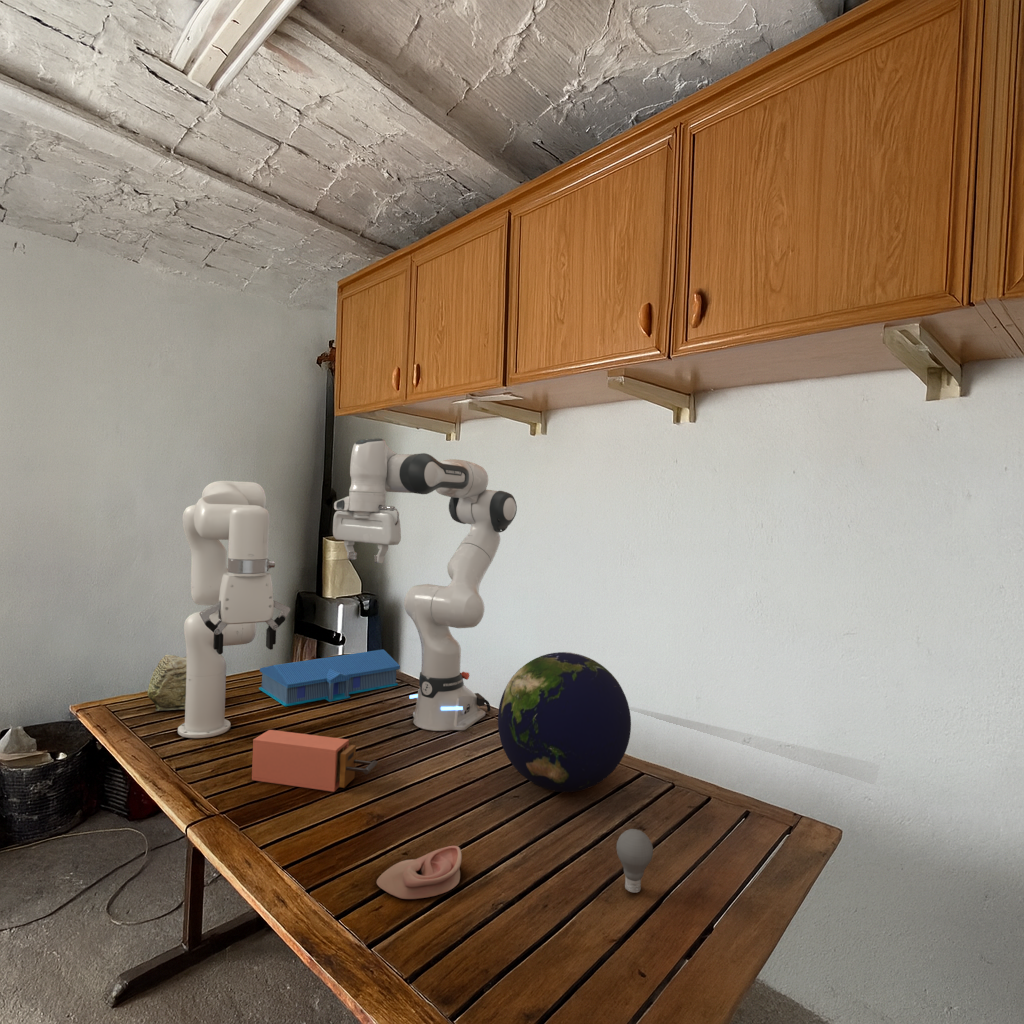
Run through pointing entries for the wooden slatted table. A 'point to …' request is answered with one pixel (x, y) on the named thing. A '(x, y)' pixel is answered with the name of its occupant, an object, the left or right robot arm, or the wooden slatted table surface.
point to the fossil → (169, 683)
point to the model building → (329, 677)
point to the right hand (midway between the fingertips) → (365, 561)
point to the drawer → (350, 766)
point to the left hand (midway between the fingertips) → (244, 650)
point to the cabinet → (297, 759)
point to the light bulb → (634, 857)
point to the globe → (564, 722)
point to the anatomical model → (423, 874)
